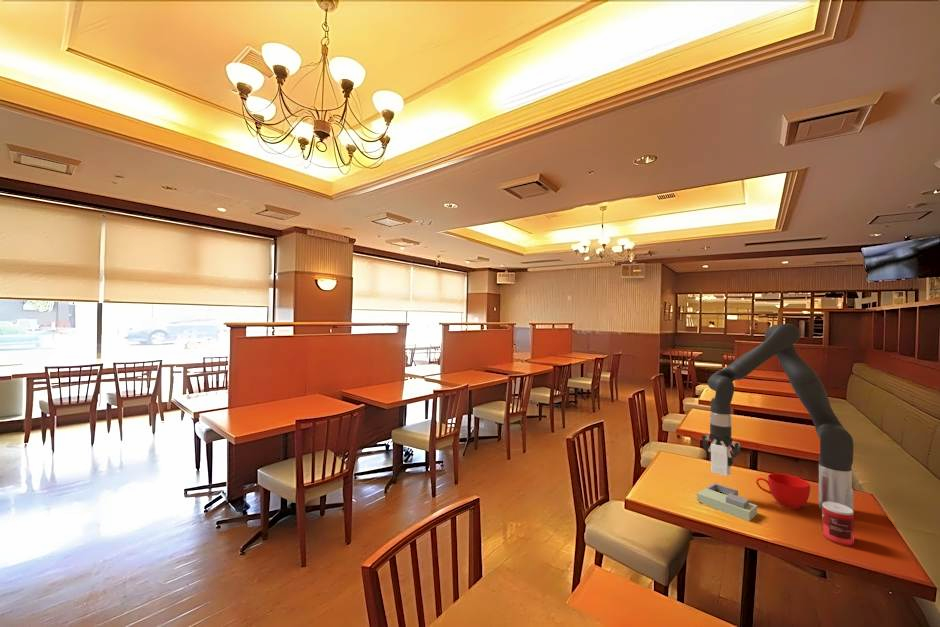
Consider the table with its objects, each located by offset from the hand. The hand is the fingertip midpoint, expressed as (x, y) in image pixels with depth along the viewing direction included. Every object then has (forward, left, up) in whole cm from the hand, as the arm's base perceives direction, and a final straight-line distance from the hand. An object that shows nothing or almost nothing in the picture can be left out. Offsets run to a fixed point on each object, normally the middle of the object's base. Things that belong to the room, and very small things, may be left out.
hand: (720, 463), depth 160 cm
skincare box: (0, 0, -4) cm, 4 cm away
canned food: (-36, +1, -14) cm, 39 cm away
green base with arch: (-5, +4, -14) cm, 15 cm away
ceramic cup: (-17, -14, -14) cm, 26 cm away
